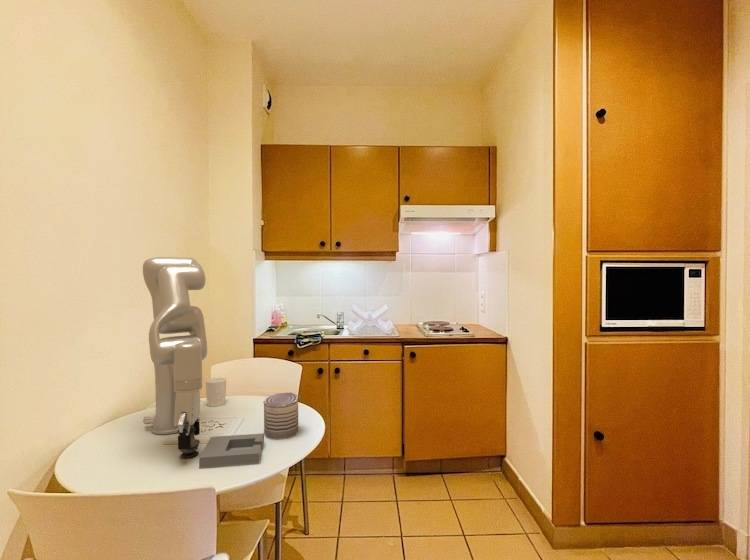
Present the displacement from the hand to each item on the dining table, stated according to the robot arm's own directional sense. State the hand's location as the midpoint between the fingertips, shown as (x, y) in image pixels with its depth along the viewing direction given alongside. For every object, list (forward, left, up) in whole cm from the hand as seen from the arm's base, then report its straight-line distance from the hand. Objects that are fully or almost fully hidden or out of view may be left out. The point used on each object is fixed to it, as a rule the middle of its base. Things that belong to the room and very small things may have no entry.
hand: (189, 441), depth 119 cm
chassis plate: (+13, -2, -4) cm, 14 cm away
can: (+26, +12, -4) cm, 29 cm away
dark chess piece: (0, 0, -4) cm, 4 cm away
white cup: (-2, +46, -4) cm, 47 cm away
